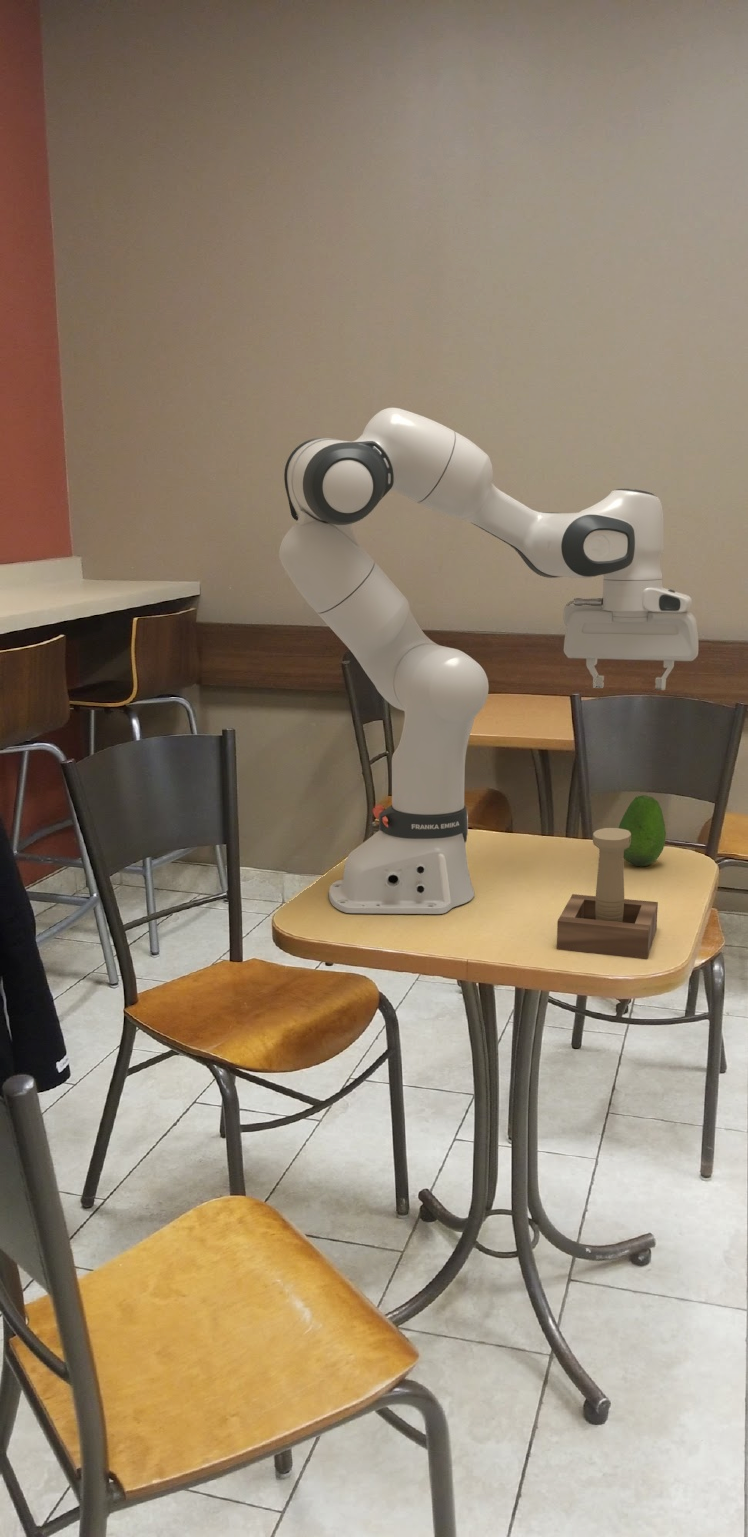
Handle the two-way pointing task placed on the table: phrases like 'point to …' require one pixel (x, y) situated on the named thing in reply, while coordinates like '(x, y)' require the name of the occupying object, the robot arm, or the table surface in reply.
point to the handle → (610, 873)
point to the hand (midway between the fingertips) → (629, 688)
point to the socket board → (607, 928)
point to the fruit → (644, 831)
